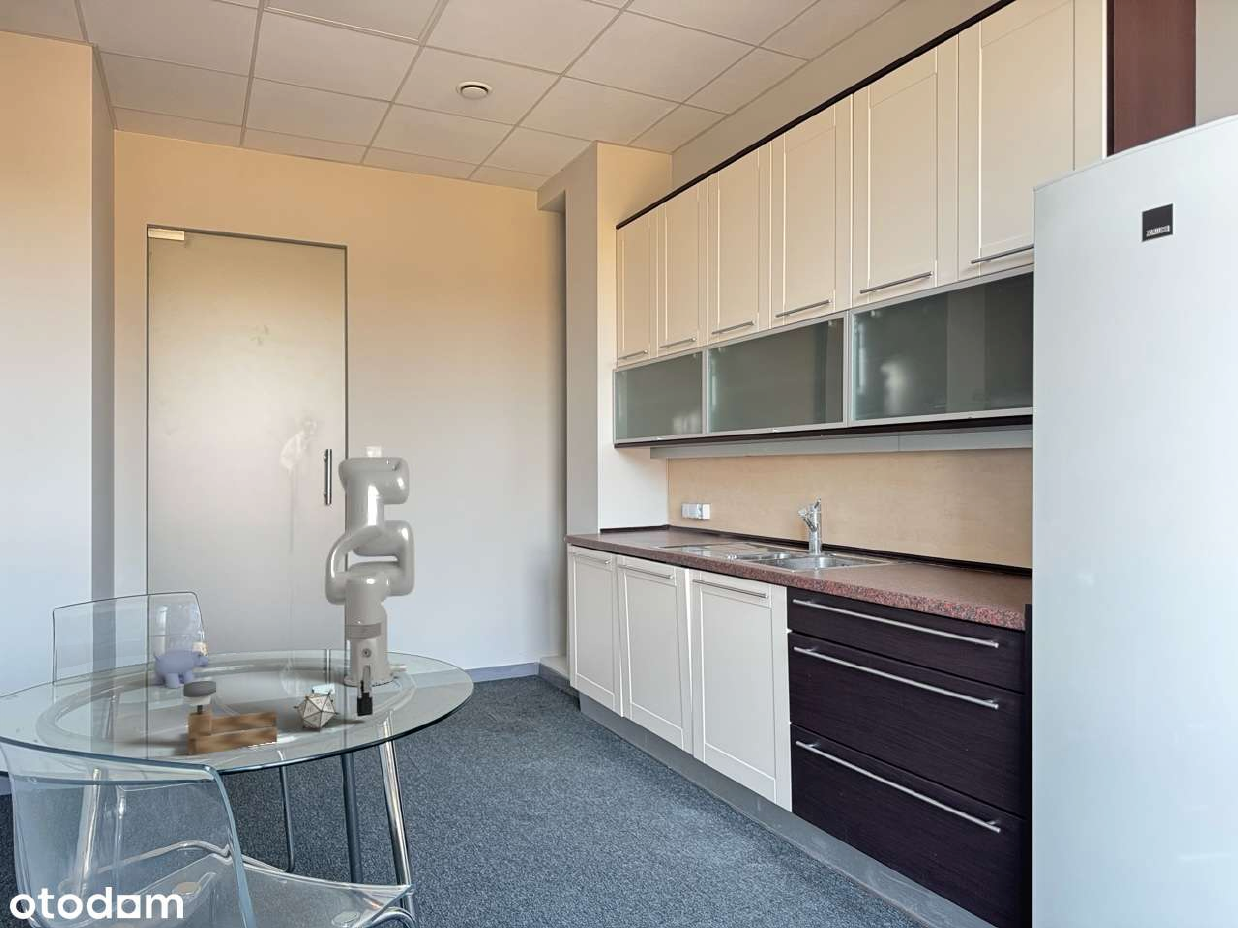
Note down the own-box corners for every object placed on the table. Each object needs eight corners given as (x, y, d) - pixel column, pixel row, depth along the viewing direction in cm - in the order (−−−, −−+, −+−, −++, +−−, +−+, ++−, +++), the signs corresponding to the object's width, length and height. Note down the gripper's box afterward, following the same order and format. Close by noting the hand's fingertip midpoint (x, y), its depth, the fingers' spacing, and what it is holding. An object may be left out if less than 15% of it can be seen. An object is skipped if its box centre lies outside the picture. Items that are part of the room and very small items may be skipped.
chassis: (276, 724, 181) (276, 688, 181) (276, 743, 168) (276, 705, 168) (192, 734, 174) (191, 697, 174) (185, 755, 161) (185, 715, 161)
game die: (310, 744, 178) (303, 701, 183) (348, 728, 179) (339, 686, 184) (291, 735, 171) (284, 691, 176) (330, 719, 171) (322, 675, 176)
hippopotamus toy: (219, 678, 223) (219, 643, 223) (164, 691, 210) (163, 654, 210) (196, 674, 229) (196, 639, 229) (141, 686, 216) (141, 650, 216)
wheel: (216, 697, 173) (216, 679, 173) (215, 704, 167) (215, 686, 167) (184, 700, 170) (184, 682, 170) (181, 708, 165) (181, 689, 165)
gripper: (385, 635, 176) (386, 721, 176) (377, 624, 190) (378, 704, 189) (349, 638, 173) (349, 726, 173) (343, 627, 187) (343, 708, 186)
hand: (364, 714), depth 181 cm, fingers closed
